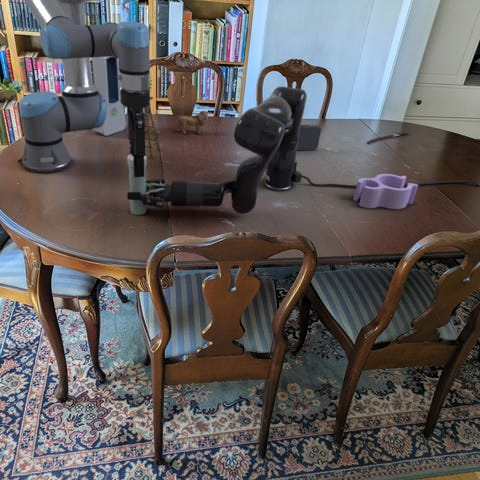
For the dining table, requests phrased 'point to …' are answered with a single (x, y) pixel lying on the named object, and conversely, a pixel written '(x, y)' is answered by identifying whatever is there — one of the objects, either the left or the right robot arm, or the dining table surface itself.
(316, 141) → the handheld gaming console
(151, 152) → the miniature windmill
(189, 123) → the lion figurine
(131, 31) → the left robot arm
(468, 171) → the dining table surface
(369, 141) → the sword
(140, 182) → the green bottle
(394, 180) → the clip
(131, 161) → the lid
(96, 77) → the electronic device
